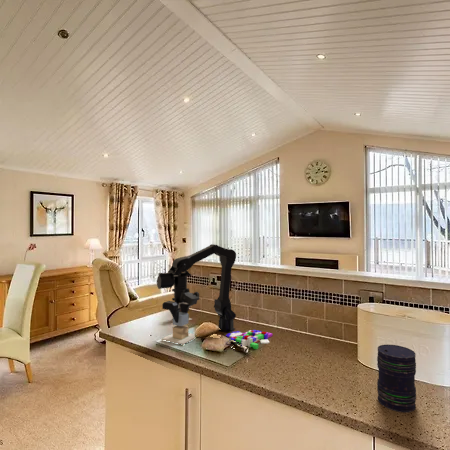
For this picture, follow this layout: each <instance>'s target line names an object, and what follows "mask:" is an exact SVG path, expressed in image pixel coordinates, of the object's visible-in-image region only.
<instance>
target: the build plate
mask: <svg viewBox="0 0 450 450" xmlns="http://www.w3.org/2000/svg"><path fill="white" fill-rule="evenodd" d="M194 338H195V336H194V333H191V332H188V336H187V337H186V338H184V339H177V338H173V333H171V334H168V335H166V336H165V337H164V336H163V337H161V338H160V339H161V340H166V341H170V342H174V343H178V344H182V345H184V344H185V343H187V342H189V341H191V340H193V339H194ZM193 341H194V340H193ZM191 342H192V341H191ZM189 343H190V342H189ZM184 346H185V345H184Z"/></svg>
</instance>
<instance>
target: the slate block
mask: <svg viewBox="0 0 450 450" xmlns="http://www.w3.org/2000/svg"><path fill="white" fill-rule="evenodd" d="M188 324H189V320H188V313H183V312H179V320H178V323H176V322H175V320H174V318H173V317H172V325H173V326H174V325H175V326H177V325H178V326H183V325H185V326H187V325H188Z"/></svg>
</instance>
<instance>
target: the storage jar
mask: <svg viewBox="0 0 450 450" xmlns="http://www.w3.org/2000/svg"><path fill="white" fill-rule="evenodd" d="M376 357H377V358H376V361H377V363H376V366H377V368H378V378H377V382H376V385H377V386H376V388H377V401H378V403H379V404H380V405H381V406H383V407H384V408H385V409H388V410H391V411H394V412H398V413H412V412H414V411H415V410H416V408H417V407H416V401H417V400H416V399H417V388H416V385H415V383H416V382H415V378H416V377H415V376H416V373H417V362H416V352H415V351H414V350H412V349H410V348H409V347H406V346H402V345H397V344H382V345H378V347H377V356H376Z"/></svg>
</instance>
